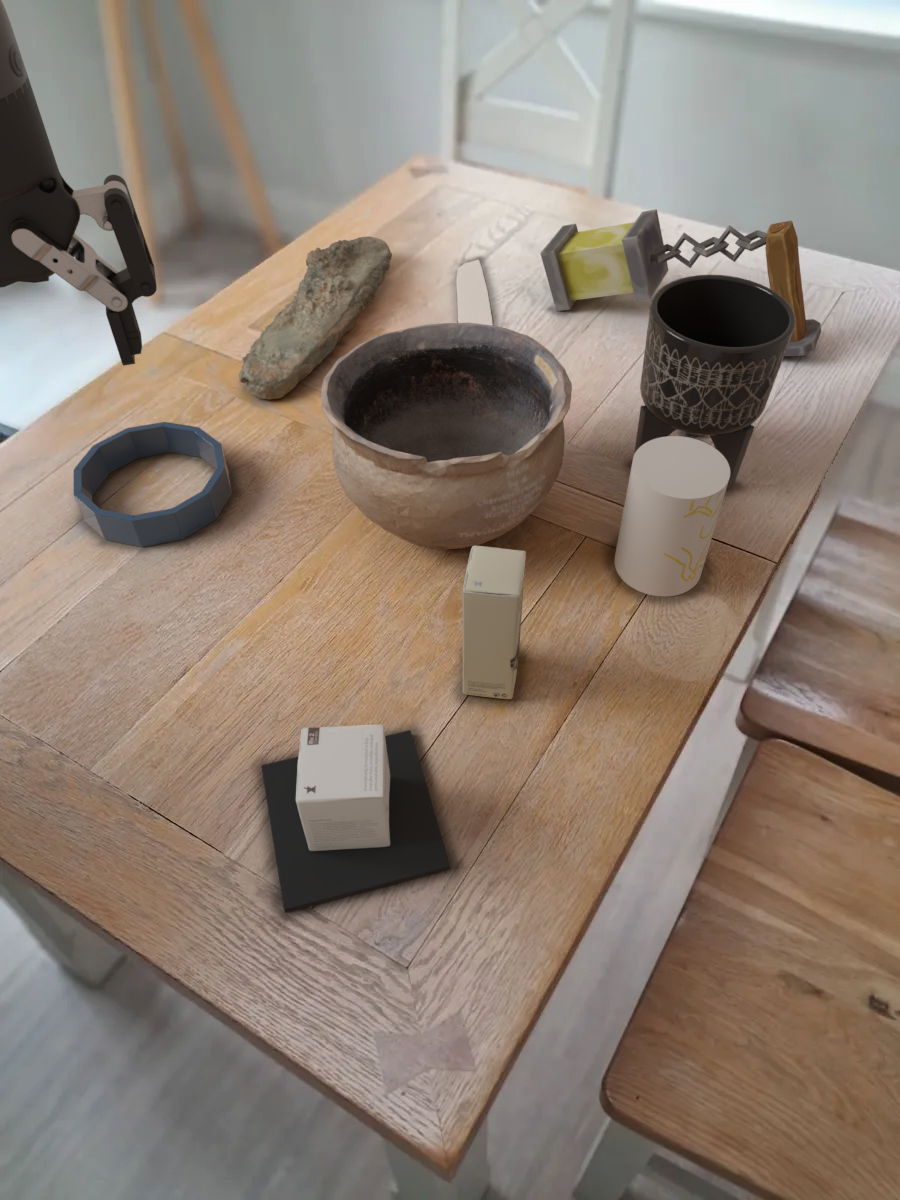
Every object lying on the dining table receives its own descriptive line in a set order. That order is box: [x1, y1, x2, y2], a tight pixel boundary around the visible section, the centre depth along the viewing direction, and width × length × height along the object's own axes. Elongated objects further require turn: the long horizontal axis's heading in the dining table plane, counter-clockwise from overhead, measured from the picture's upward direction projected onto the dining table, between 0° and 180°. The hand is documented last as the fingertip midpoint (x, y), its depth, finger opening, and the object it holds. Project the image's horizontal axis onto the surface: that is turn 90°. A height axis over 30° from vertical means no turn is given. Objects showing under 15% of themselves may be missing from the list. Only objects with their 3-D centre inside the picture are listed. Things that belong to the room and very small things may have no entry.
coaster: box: [260, 729, 451, 913], centre depth 68 cm, size 12×12×1 cm
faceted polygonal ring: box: [73, 421, 233, 548], centre depth 91 cm, size 15×15×4 cm
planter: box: [633, 274, 796, 491], centre depth 88 cm, size 13×13×18 cm
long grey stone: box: [238, 235, 393, 400], centre depth 112 cm, size 35×5×10 cm
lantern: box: [539, 209, 822, 357], centre depth 109 cm, size 8×17×30 cm
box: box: [461, 545, 527, 700], centre depth 72 cm, size 5×4×13 cm
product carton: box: [296, 723, 390, 851], centre depth 65 cm, size 6×6×7 cm
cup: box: [613, 435, 730, 598], centre depth 81 cm, size 8×8×12 cm
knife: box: [456, 259, 494, 326], centre depth 112 cm, size 1×34×5 cm
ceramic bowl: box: [319, 322, 573, 550], centre depth 85 cm, size 22×22×15 cm
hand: (56, 369), depth 55 cm, fingers open, 8 cm apart
